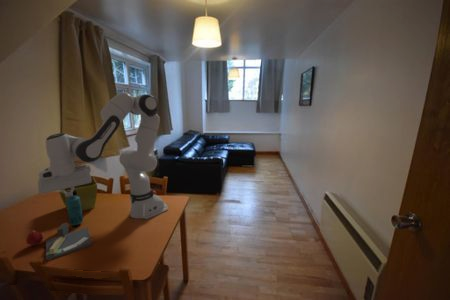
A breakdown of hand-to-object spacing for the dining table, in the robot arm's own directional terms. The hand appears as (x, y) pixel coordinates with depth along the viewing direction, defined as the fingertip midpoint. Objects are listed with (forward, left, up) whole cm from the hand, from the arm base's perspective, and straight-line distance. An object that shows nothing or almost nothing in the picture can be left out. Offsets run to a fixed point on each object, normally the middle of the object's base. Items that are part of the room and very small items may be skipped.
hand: (69, 196), depth 102 cm
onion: (+16, -6, -23) cm, 29 cm away
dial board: (+3, +3, -23) cm, 23 cm away
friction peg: (+6, +3, -22) cm, 23 cm away
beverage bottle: (-1, -14, -23) cm, 27 cm away
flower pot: (-5, -36, -23) cm, 44 cm away
